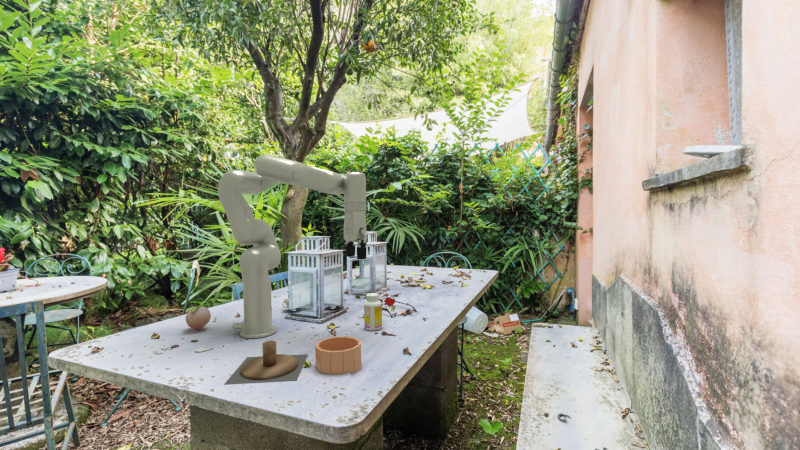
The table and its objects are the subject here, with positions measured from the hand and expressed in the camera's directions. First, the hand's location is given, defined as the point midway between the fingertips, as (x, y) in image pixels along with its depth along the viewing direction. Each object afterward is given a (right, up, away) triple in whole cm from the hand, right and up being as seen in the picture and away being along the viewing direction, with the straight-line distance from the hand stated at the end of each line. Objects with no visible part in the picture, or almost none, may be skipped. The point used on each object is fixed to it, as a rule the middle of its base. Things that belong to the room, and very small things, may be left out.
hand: (355, 257), depth 129 cm
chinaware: (-24, -27, +43) cm, 57 cm away
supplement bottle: (+5, -28, +10) cm, 30 cm away
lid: (-21, -28, -26) cm, 44 cm away
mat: (-21, -29, -26) cm, 44 cm away
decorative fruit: (-61, -29, +12) cm, 69 cm away
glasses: (+12, -27, +35) cm, 46 cm away
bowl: (-2, -29, -24) cm, 38 cm away
